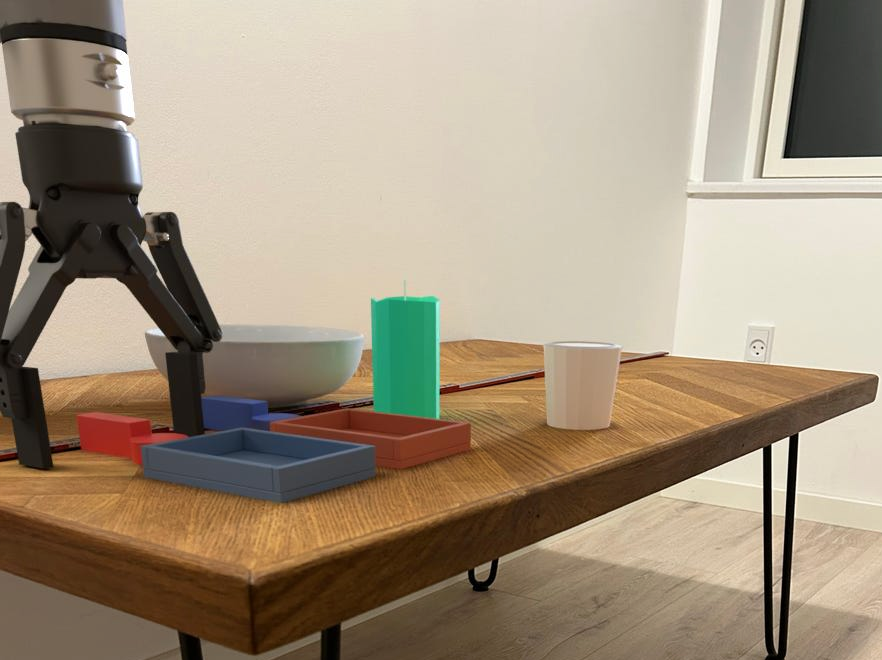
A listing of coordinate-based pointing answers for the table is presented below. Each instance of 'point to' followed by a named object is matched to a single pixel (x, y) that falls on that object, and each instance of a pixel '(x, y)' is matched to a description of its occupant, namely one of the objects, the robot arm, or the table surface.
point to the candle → (406, 355)
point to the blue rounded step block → (238, 413)
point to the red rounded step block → (118, 434)
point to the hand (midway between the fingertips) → (119, 451)
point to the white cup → (580, 383)
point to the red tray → (385, 434)
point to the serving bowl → (272, 362)
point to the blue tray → (259, 463)
